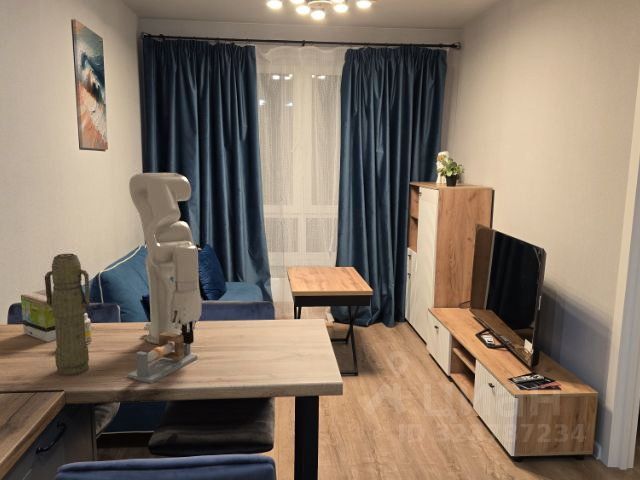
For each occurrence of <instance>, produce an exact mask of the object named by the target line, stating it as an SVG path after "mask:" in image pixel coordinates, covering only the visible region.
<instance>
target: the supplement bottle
mask: <svg viewBox="0 0 640 480" xmlns="http://www.w3.org/2000/svg"><path fill="white" fill-rule="evenodd" d="M84 321H85V338H86V344H87V345H89V344H91V343H92V324H91V319H90V318H89V317H88V313H87V312H85V314H84Z"/></svg>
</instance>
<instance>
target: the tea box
mask: <svg viewBox="0 0 640 480" xmlns="http://www.w3.org/2000/svg"><path fill="white" fill-rule="evenodd" d="M51 291H52V294H53V290H51ZM20 303H21V315H22V324H23V326H22V327H23V334H24V335H28V336H31V337H34V338H37V339H39V340H42V341H44V342H47V343H49V342H52V341H56V330H55V318H54V317H53V313H52V308H51V307H50V306H49V305H48V304H47V296H46V289H43V290H38V291H34V292H29V293H24V294H20Z"/></svg>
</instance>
